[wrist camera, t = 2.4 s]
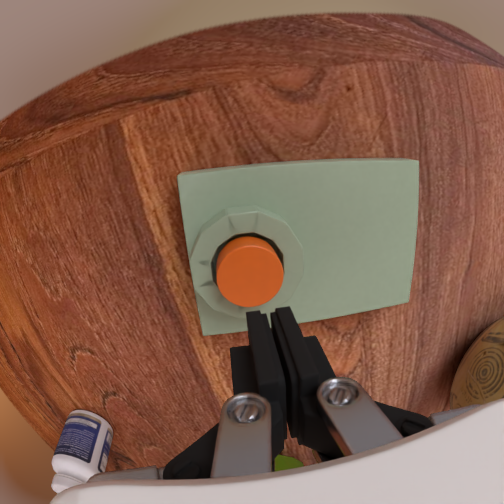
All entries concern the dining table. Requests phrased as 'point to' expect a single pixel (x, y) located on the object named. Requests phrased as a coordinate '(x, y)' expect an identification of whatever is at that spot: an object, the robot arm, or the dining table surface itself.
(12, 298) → the dining table surface
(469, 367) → the ceramic bowl
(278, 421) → the robot arm
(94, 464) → the pill bottle
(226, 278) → the orange push button
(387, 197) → the push button base
